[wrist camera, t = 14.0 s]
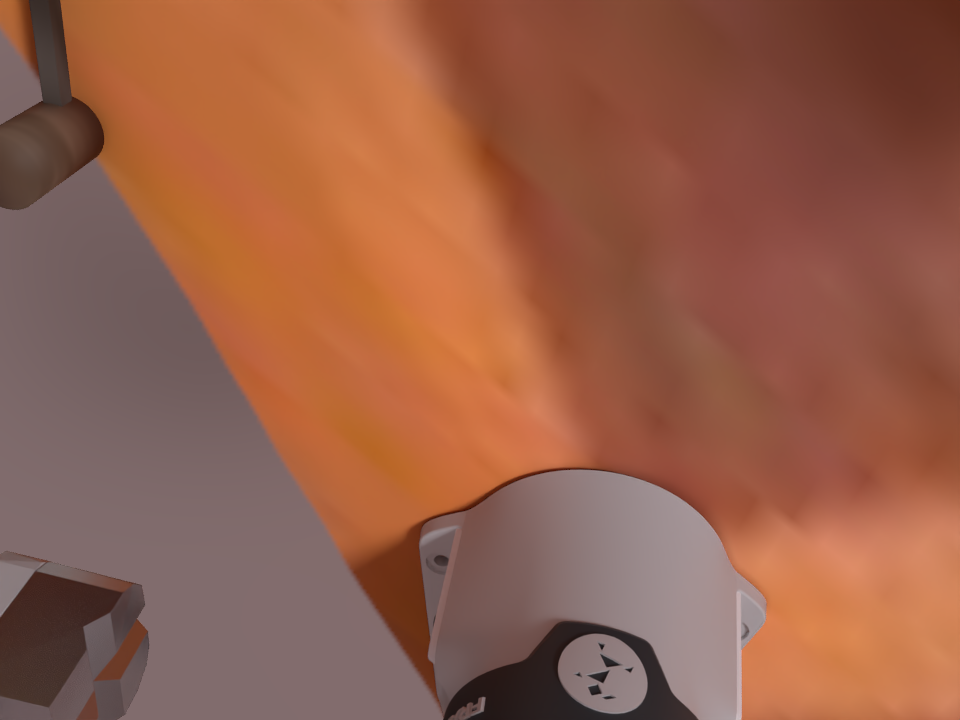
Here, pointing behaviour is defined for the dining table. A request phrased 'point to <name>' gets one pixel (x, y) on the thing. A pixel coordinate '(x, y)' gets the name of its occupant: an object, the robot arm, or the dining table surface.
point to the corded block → (47, 122)
